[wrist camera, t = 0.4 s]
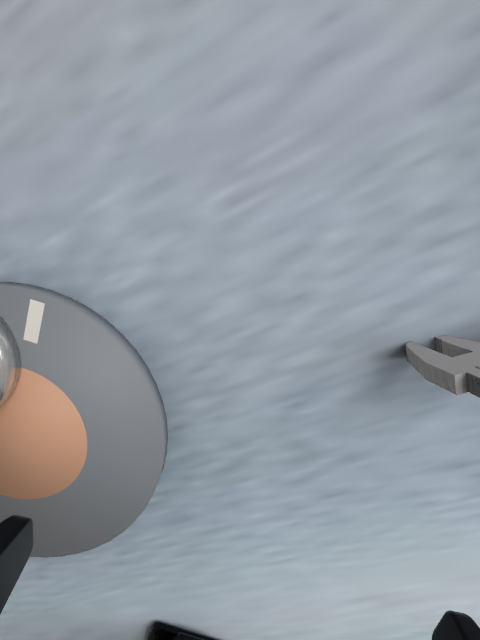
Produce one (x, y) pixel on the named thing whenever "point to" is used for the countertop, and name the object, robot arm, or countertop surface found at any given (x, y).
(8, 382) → the cover
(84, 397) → the turntable
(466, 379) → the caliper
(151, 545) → the countertop surface
